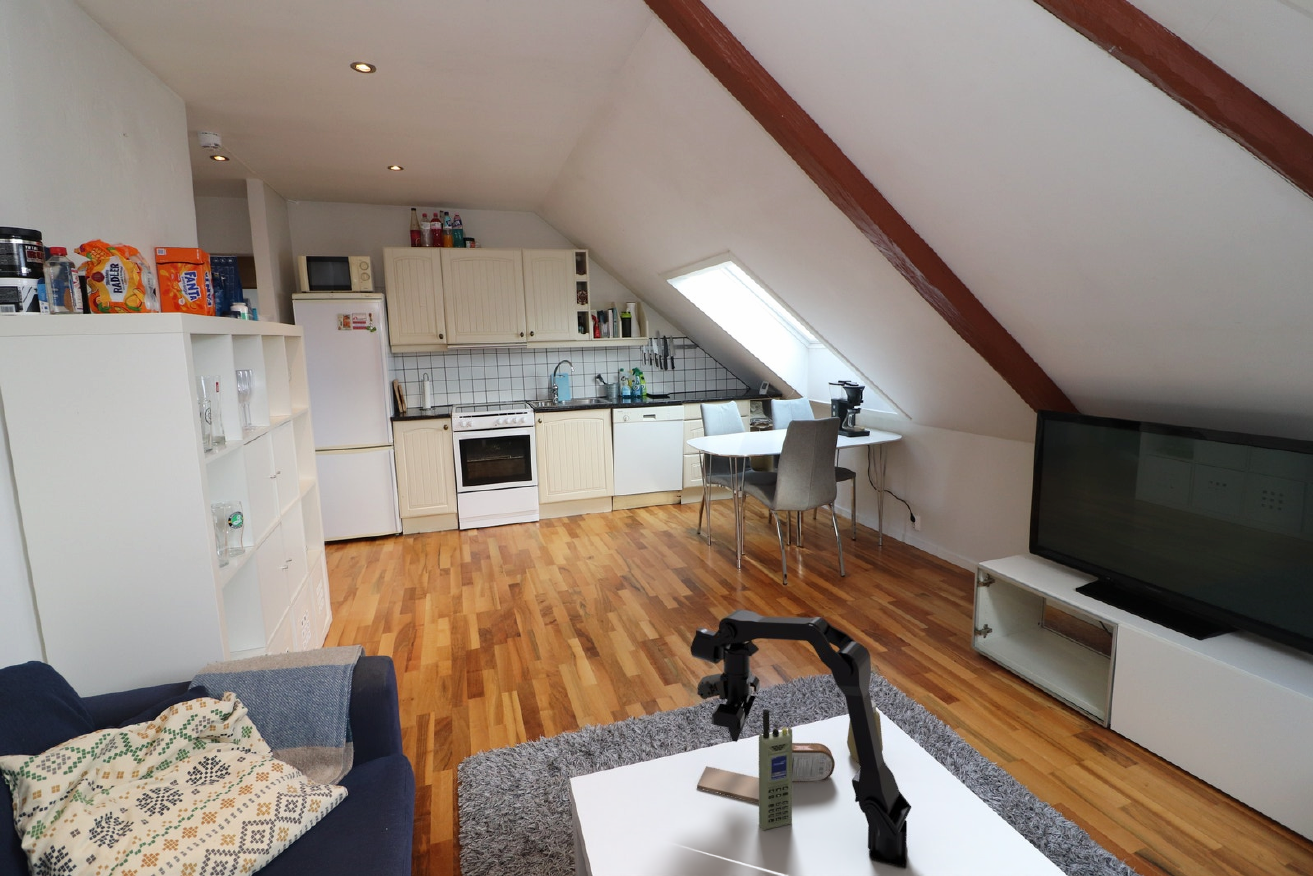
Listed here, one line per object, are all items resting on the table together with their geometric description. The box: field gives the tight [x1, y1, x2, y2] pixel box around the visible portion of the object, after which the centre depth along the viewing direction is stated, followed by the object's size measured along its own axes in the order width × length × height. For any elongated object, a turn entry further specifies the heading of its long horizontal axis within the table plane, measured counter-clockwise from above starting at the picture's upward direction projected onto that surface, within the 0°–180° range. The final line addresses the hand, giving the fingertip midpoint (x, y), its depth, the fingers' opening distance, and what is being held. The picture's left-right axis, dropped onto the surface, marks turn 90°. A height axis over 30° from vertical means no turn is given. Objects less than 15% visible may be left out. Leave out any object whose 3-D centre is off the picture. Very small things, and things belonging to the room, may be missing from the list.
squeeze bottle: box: [846, 699, 884, 764], centre depth 148 cm, size 8×8×18 cm
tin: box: [792, 742, 836, 784], centre depth 141 cm, size 15×3×8 cm, turn 94°
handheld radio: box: [758, 708, 793, 831], centre depth 128 cm, size 7×3×25 cm, turn 105°
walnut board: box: [696, 765, 759, 804], centre depth 140 cm, size 16×7×1 cm, turn 69°
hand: (737, 735), depth 140 cm, fingers open, 4 cm apart
